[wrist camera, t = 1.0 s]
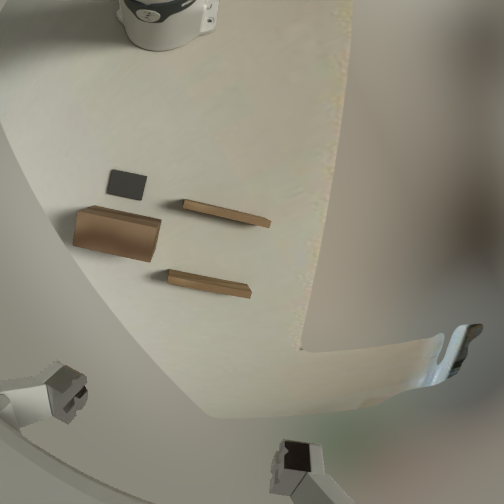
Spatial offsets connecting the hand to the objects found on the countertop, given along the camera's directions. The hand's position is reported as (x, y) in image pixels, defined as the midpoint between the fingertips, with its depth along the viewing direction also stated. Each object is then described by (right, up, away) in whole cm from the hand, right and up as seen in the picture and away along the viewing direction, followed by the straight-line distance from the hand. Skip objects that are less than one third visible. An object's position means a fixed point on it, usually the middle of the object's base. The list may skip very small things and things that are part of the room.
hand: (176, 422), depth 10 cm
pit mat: (-17, +18, +36) cm, 44 cm away
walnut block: (-18, +11, +38) cm, 43 cm away
